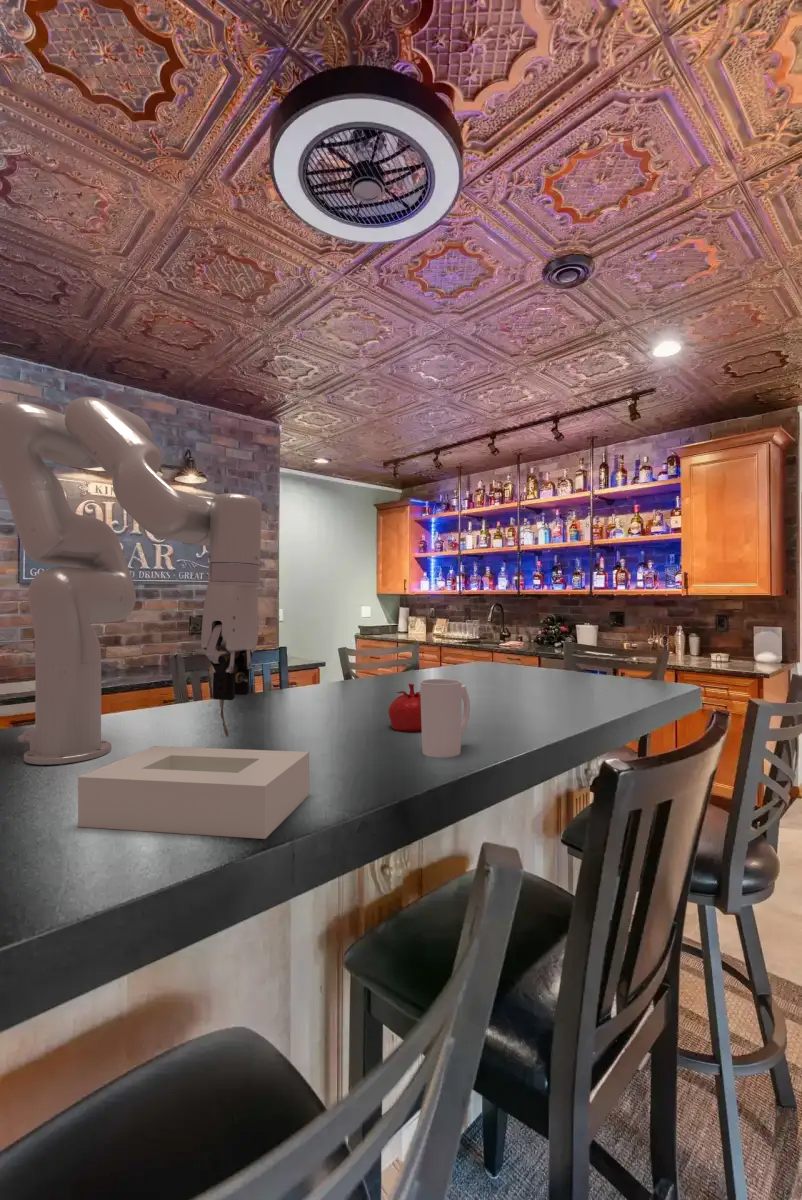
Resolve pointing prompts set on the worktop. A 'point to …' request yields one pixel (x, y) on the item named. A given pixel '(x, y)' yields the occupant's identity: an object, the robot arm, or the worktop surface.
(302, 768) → the stand
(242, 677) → the regulator
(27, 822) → the worktop surface
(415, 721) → the pomegranate
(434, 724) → the mug
